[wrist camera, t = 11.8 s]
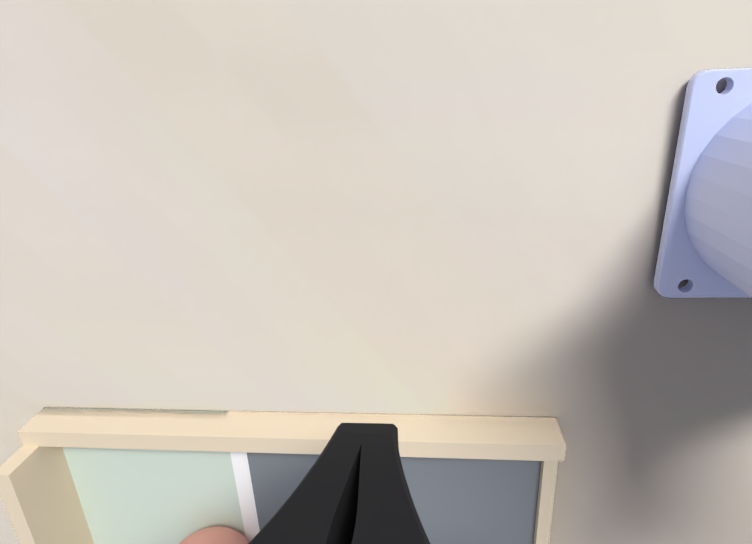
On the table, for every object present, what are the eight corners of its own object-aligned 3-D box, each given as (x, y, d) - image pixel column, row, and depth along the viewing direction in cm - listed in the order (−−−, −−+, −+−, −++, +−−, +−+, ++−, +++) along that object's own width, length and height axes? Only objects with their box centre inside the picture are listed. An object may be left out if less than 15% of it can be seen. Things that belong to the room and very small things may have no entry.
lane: (555, 417, 22) (579, 478, 19) (537, 593, 26) (553, 669, 23) (44, 407, 25) (-15, 459, 21) (99, 569, 29) (56, 635, 25)
